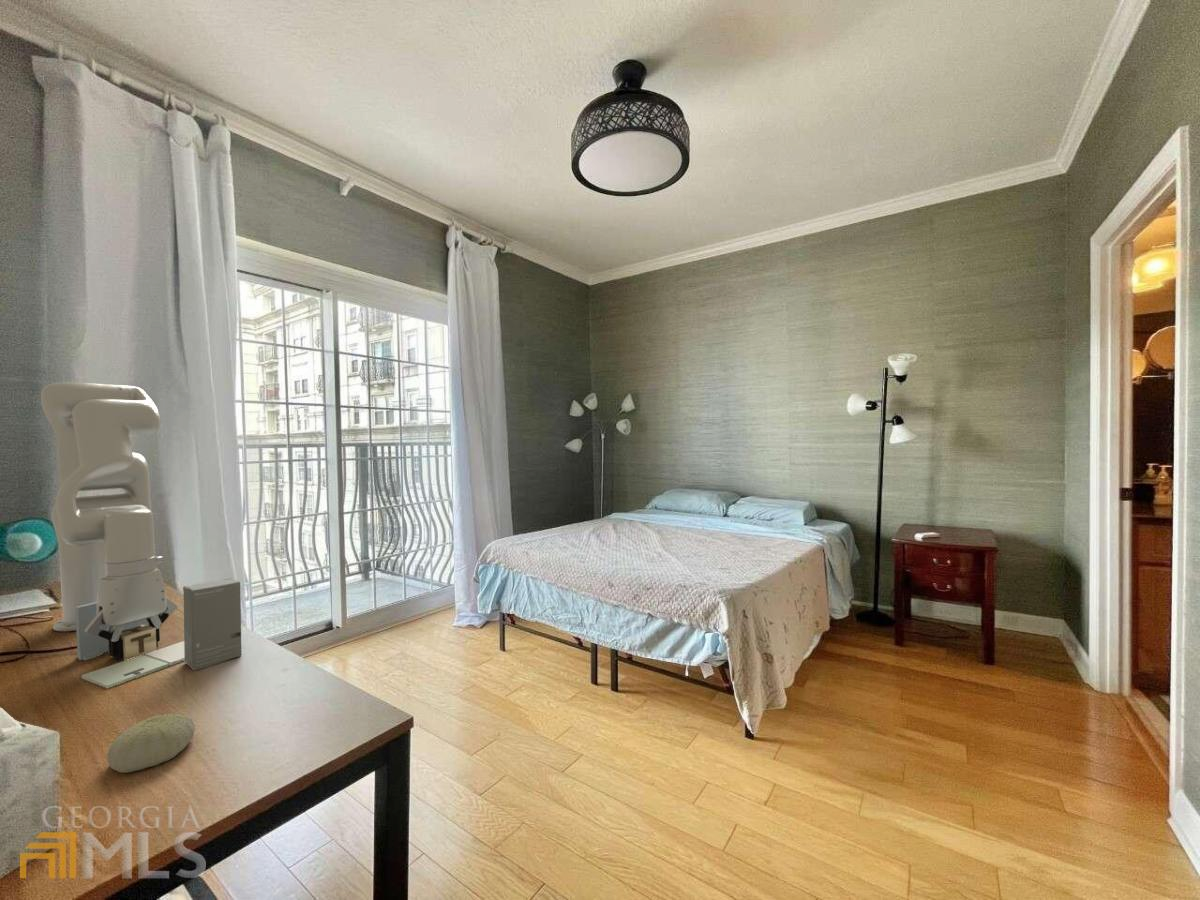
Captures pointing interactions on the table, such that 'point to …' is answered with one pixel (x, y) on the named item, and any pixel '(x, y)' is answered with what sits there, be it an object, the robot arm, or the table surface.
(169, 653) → the pad
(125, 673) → the pad
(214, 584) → the skincare box
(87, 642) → the screen
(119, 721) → the table surface
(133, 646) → the letter cube
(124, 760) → the sea urchin shell
